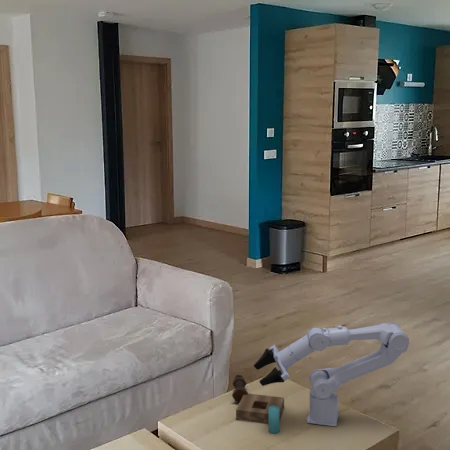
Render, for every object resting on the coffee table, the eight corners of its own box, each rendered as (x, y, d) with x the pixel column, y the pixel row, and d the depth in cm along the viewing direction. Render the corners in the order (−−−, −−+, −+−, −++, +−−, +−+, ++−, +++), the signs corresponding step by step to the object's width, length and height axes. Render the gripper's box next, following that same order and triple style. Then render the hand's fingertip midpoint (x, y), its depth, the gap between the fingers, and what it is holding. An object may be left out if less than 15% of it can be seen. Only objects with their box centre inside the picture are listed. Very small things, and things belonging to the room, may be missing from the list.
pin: (280, 428, 191) (280, 406, 189) (278, 434, 188) (278, 411, 186) (269, 427, 192) (269, 404, 190) (267, 433, 189) (267, 409, 187)
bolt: (241, 387, 222) (242, 406, 207) (229, 381, 222) (230, 399, 207) (248, 374, 221) (250, 392, 206) (237, 368, 221) (238, 386, 206)
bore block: (284, 406, 205) (284, 397, 204) (277, 424, 193) (277, 414, 193) (244, 402, 208) (244, 393, 208) (236, 419, 197) (236, 409, 196)
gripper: (281, 332, 196) (246, 353, 198) (294, 361, 184) (257, 384, 185) (291, 344, 200) (257, 365, 201) (304, 374, 187) (268, 396, 189)
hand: (258, 375), depth 193 cm, fingers open, 7 cm apart
